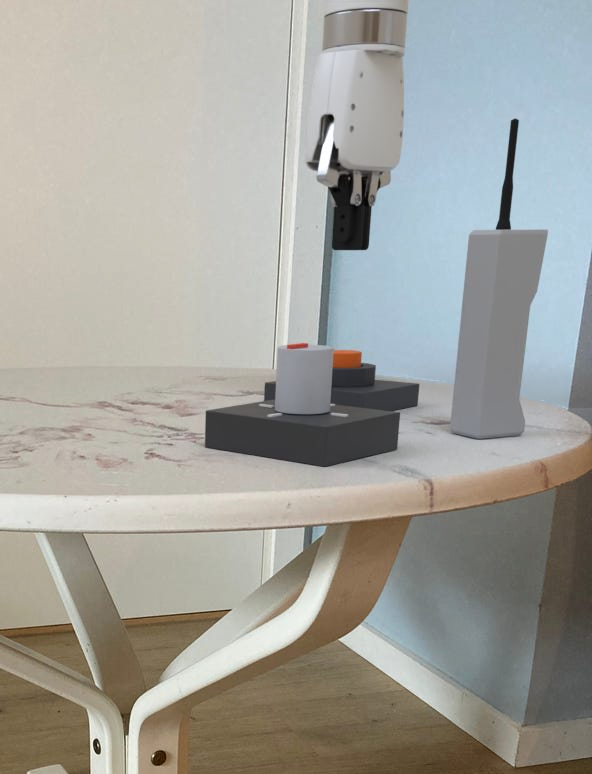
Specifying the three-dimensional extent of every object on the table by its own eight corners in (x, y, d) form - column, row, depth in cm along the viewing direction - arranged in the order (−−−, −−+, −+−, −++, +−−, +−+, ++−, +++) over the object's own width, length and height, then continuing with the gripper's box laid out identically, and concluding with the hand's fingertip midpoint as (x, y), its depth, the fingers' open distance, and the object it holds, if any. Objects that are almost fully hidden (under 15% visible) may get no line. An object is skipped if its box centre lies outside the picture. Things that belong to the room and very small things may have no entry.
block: (417, 405, 113) (421, 365, 111) (362, 416, 106) (365, 374, 105) (320, 394, 121) (323, 357, 119) (263, 404, 114) (265, 364, 113)
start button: (367, 369, 112) (368, 351, 112) (347, 372, 110) (348, 354, 109) (337, 366, 115) (339, 349, 114) (317, 369, 112) (318, 351, 112)
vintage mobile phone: (524, 435, 95) (562, 117, 87) (477, 439, 94) (512, 115, 85) (494, 429, 99) (528, 121, 90) (449, 433, 97) (479, 119, 88)
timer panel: (397, 449, 89) (400, 410, 88) (325, 466, 83) (327, 424, 82) (279, 432, 98) (280, 396, 96) (204, 447, 91) (205, 408, 90)
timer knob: (295, 405, 92) (298, 339, 90) (340, 410, 89) (344, 342, 87) (263, 410, 89) (266, 343, 87) (309, 416, 86) (313, 346, 84)
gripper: (374, 53, 109) (360, 249, 116) (281, 35, 100) (272, 250, 106) (442, 43, 104) (424, 249, 111) (351, 24, 95) (337, 251, 101)
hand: (349, 249), depth 108 cm, fingers closed
